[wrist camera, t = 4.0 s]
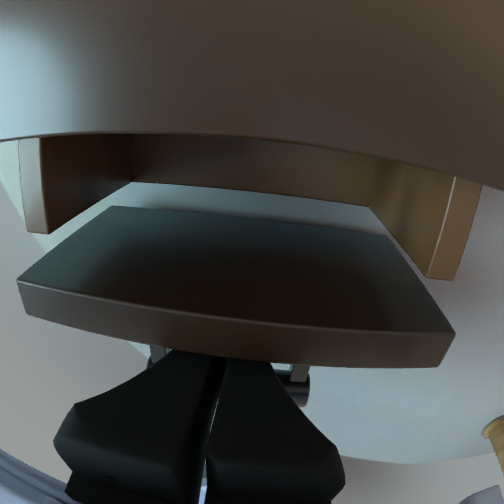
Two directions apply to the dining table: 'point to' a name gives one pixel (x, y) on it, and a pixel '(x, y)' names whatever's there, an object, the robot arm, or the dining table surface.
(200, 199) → the dining table surface
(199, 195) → the dining table surface
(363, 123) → the cabinet
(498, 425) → the flanged wooden peg
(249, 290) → the drawer
